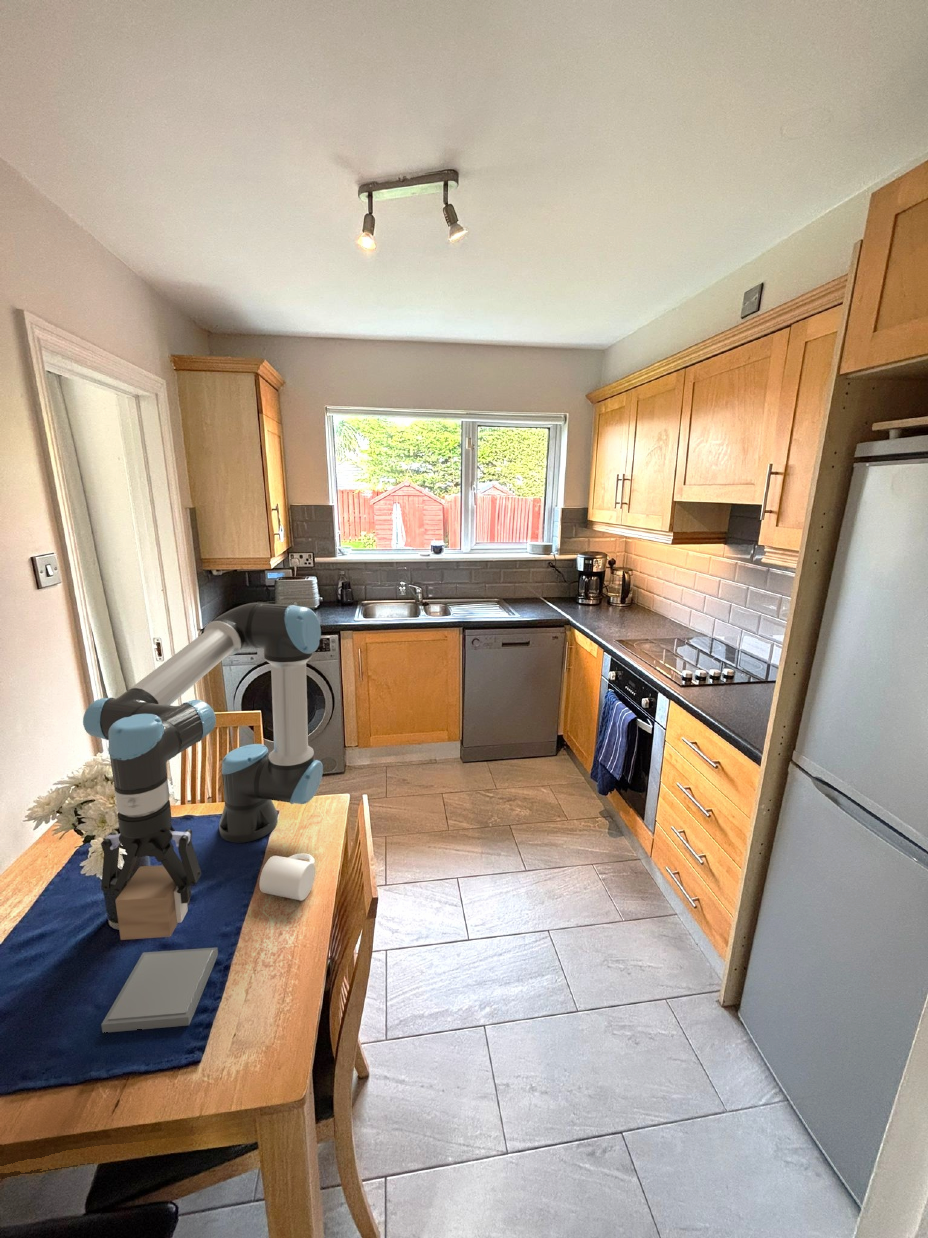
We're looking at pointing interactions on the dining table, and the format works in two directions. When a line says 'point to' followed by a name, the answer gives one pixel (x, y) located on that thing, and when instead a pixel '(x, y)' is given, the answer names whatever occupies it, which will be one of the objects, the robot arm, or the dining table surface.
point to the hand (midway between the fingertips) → (156, 918)
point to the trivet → (161, 990)
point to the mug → (288, 876)
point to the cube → (147, 905)
